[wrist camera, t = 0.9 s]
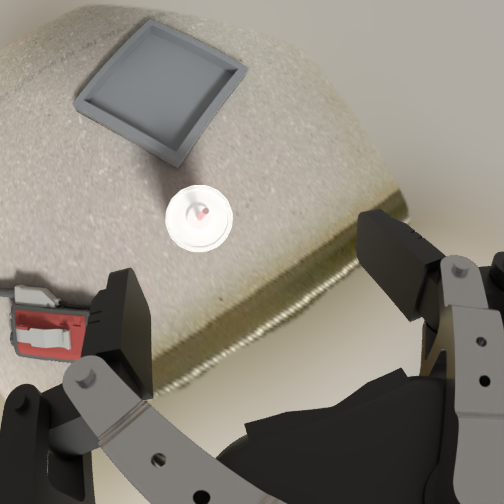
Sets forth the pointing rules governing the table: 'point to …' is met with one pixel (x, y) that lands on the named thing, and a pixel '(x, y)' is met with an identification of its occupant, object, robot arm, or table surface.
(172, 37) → the tray
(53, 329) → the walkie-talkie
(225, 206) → the beverage cup
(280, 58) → the table surface
